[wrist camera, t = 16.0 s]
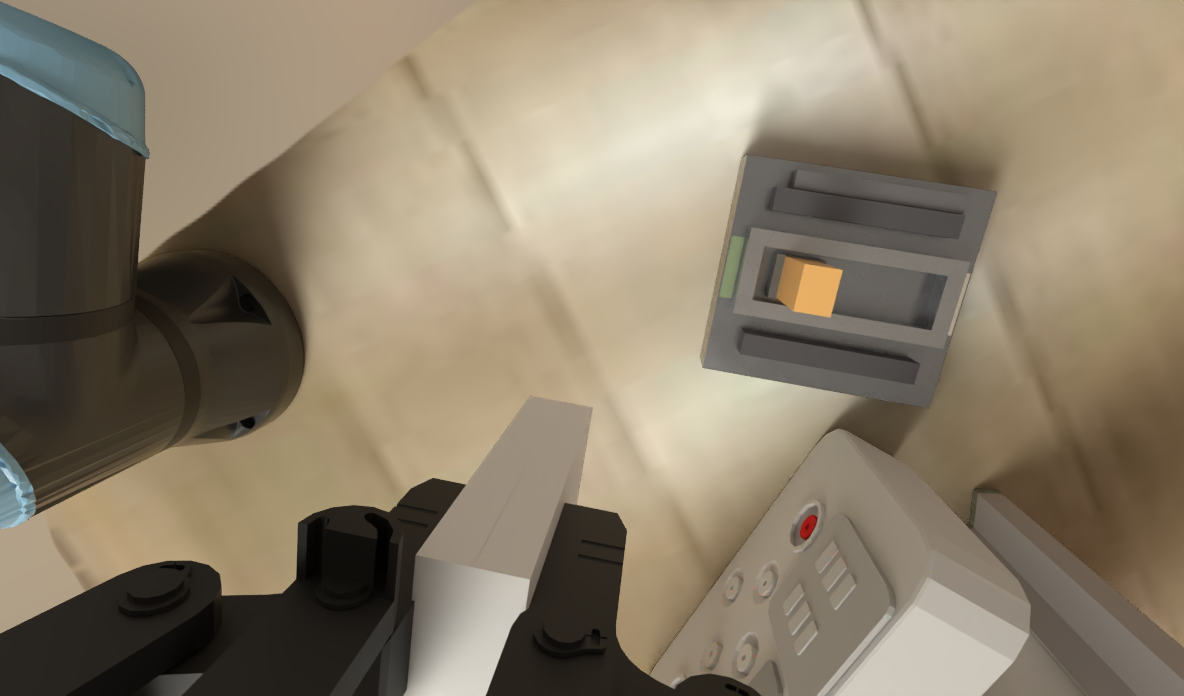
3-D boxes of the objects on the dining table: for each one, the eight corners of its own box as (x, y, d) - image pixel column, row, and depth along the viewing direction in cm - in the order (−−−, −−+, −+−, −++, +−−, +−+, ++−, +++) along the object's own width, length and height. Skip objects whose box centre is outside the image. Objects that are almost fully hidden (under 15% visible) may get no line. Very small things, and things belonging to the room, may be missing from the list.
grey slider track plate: (737, 349, 39) (740, 354, 38) (777, 168, 36) (782, 166, 35) (905, 378, 38) (914, 384, 37) (960, 195, 36) (971, 195, 34)
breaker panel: (700, 357, 43) (703, 373, 38) (741, 158, 39) (750, 152, 35) (910, 394, 42) (939, 416, 37) (972, 192, 38) (1011, 191, 34)
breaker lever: (764, 294, 38) (783, 311, 32) (774, 251, 38) (795, 260, 31) (811, 302, 38) (839, 320, 32) (821, 259, 37) (852, 269, 31)
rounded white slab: (807, 401, 43) (904, 533, 25) (898, 452, 43) (1057, 620, 25) (615, 673, 50) (588, 920, 33) (692, 717, 50) (707, 987, 33)
